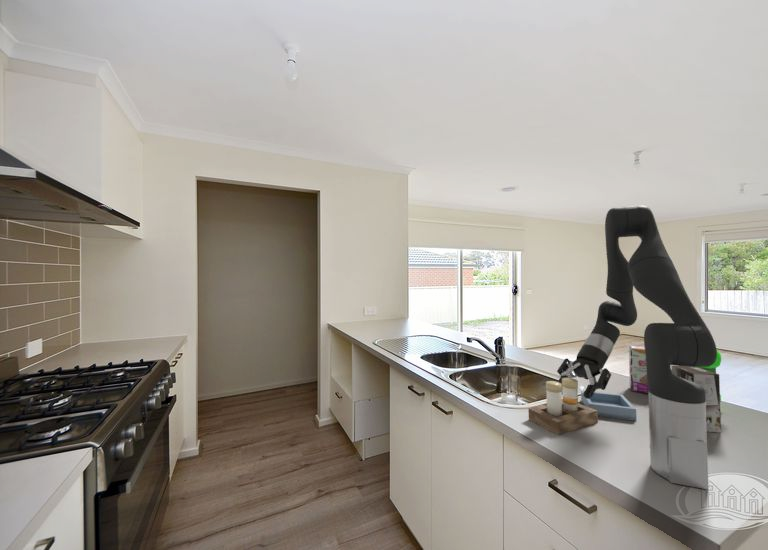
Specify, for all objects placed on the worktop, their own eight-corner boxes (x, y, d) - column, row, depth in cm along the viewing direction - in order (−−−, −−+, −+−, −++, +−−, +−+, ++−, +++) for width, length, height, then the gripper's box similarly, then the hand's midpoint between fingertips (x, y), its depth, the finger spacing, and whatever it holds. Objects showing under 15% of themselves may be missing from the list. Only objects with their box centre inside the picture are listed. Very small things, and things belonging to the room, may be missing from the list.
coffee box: (722, 433, 84) (721, 374, 85) (695, 431, 86) (693, 373, 86) (696, 418, 93) (694, 365, 94) (671, 416, 95) (670, 364, 95)
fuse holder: (566, 409, 101) (566, 398, 101) (597, 422, 92) (597, 410, 92) (528, 419, 95) (528, 408, 95) (558, 434, 85) (557, 422, 85)
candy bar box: (631, 391, 115) (630, 348, 115) (629, 387, 119) (628, 345, 120) (671, 397, 109) (669, 351, 109) (667, 392, 113) (666, 348, 114)
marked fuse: (580, 422, 92) (579, 382, 92) (564, 420, 93) (563, 381, 94) (577, 416, 96) (576, 378, 96) (561, 414, 97) (560, 377, 97)
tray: (636, 420, 92) (636, 409, 92) (589, 414, 97) (589, 403, 97) (622, 405, 104) (622, 394, 104) (581, 400, 108) (581, 390, 108)
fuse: (563, 427, 89) (562, 386, 89) (547, 425, 91) (546, 384, 91) (561, 421, 93) (560, 381, 93) (546, 419, 95) (545, 380, 95)
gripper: (568, 339, 105) (545, 378, 101) (613, 348, 92) (589, 392, 87) (579, 353, 107) (557, 391, 103) (625, 363, 94) (601, 408, 89)
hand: (572, 392), depth 95 cm, fingers open, 8 cm apart
